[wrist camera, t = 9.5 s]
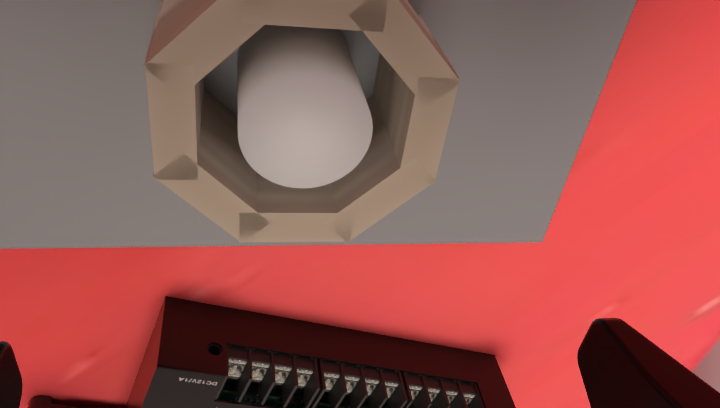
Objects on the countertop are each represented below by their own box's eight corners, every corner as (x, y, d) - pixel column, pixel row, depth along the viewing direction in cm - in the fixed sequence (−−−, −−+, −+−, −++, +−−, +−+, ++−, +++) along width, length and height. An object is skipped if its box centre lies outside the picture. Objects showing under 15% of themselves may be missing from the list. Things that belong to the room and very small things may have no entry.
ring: (392, 163, 21) (421, 242, 17) (171, 158, 19) (158, 243, 16) (435, -61, 16) (483, -8, 13) (155, -87, 15) (134, -37, 12)
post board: (527, 218, 25) (588, 320, 21) (-14, 219, 21) (-78, 346, 17) (674, -186, 17) (824, -154, 12) (-175, -307, 13) (-384, -322, 8)
